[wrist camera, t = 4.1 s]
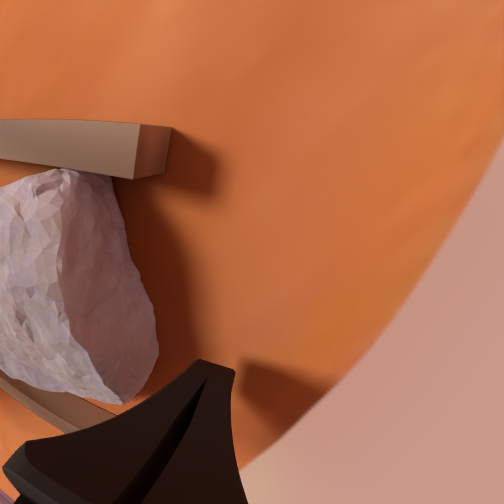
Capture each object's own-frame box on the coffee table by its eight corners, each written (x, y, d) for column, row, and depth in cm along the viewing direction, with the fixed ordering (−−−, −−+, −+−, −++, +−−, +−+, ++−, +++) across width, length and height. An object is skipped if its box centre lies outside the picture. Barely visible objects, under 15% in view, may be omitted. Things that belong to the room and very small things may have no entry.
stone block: (194, 348, 14) (113, 132, 10) (156, 433, 10) (10, 177, 6) (41, 335, 18) (-27, 199, 13) (2, 384, 13) (-84, 238, 9)
